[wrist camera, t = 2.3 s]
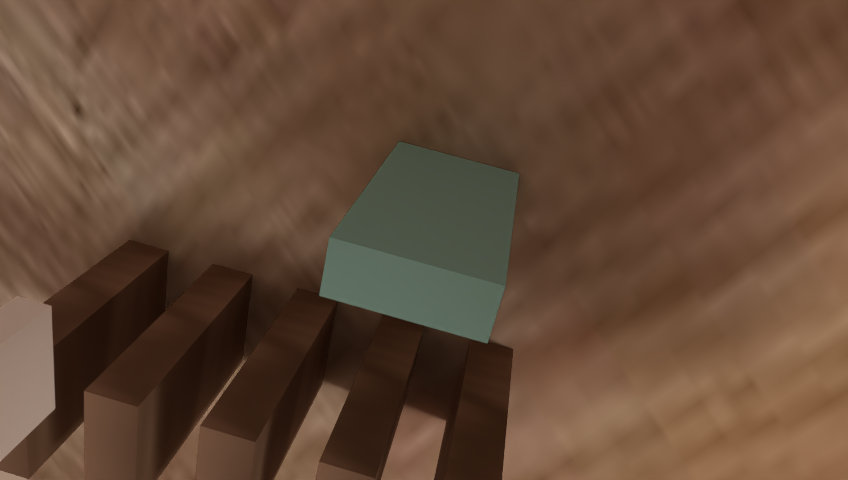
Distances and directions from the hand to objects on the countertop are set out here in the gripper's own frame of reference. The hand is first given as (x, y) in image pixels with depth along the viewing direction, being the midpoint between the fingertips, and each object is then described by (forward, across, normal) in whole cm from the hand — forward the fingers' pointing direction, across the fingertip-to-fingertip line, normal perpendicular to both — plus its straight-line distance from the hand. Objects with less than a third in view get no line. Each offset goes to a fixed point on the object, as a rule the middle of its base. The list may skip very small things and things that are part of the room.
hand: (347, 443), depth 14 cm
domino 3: (+16, +5, +10) cm, 20 cm away
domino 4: (+16, 0, 0) cm, 16 cm away
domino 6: (+16, -4, +10) cm, 20 cm away
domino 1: (+16, +13, +10) cm, 23 cm away
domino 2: (+16, +9, +10) cm, 21 cm away
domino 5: (+16, 0, +10) cm, 19 cm away
